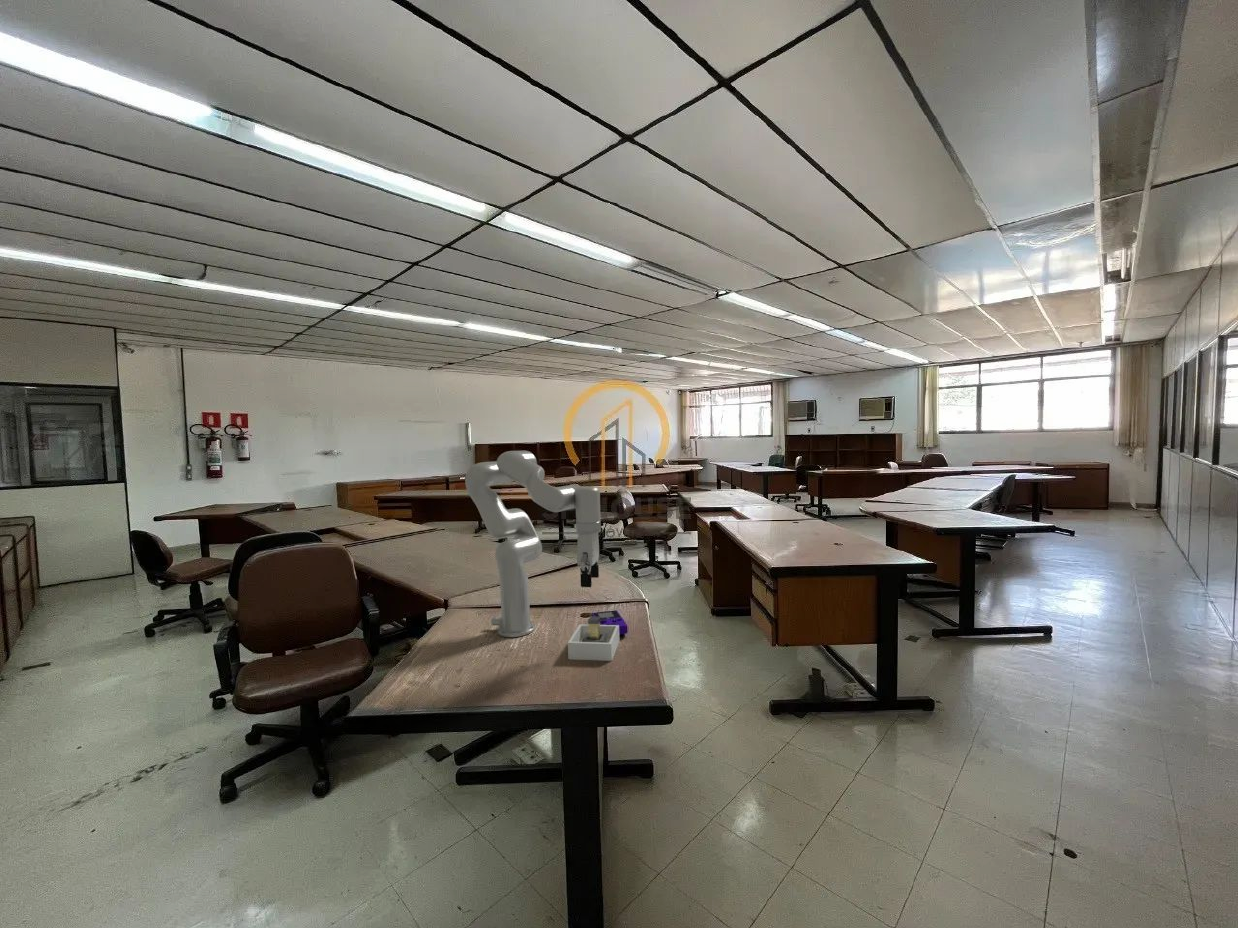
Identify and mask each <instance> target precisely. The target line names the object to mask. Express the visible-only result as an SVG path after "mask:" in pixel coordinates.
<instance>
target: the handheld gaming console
mask: <svg viewBox="0 0 1238 928" xmlns="http://www.w3.org/2000/svg"><path fill="white" fill-rule="evenodd" d="M591 616H596V617H600V625H619V635H626V634H628V623H626V621H625V620H624V618H623V617H622V615H621V614H620V613H619V612H618V610H615V609H614V610H608V611H598V612H596V611H595V612H591Z"/></svg>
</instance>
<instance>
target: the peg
mask: <svg viewBox="0 0 1238 928" xmlns="http://www.w3.org/2000/svg"><path fill="white" fill-rule="evenodd" d="M587 620H588V621H587V625H588V629H589V640H600V639H601V630H600V617H596V616H592V615H591V616H589V617H588V619H587Z"/></svg>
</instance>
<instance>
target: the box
mask: <svg viewBox="0 0 1238 928" xmlns="http://www.w3.org/2000/svg"><path fill="white" fill-rule="evenodd" d="M600 630H601V639H600V640H589V629H588V624H582V623H581V624H578V626H577V628H575V630H574V632H573V634H572V636H571V637H570V639H569V640H568V642H567V653H568V655H567V656H568V657H567V658H568V660H572V661H573V660H576V661H602V662H604V661H607V662H612V661H613V660H614V656H615V654H616V652H617V648H618V646H619V644H620V640H621V639H620V634H619V625H600Z"/></svg>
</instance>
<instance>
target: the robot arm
mask: <svg viewBox="0 0 1238 928" xmlns="http://www.w3.org/2000/svg"><path fill="white" fill-rule="evenodd" d="M464 479H465V480H464V481H465V488H466V490H467V493H468V495H469V497H470V498H471V500H472V502H473V503H474V504H475V506H476V509H477V510H478V512H479V514H480V517H481V519H482V522H483V523H484V525H485V527H486V530H487V532H488V534H489V535H490V537H491V538H493V539H495V540H501V539H506V538H509V537H513V538H510V539H506V540H505V541H503V542H501V543H499V544H498V546H497V547H496V549H495V552H494V554H495V555H494V557H495V561H496V565H497V569H498V577H499V589H500V591H499V592H500V607H501V609H500V611H501V616H500V617H498V616H497V617H491V625H492V626H498V628H497V634H498V635H499V636H500V637H504V638H517V637H523V636H527V635H529V634H531V633H532V632H534V631H535V629H536V624H535V622H533V621H531V612H530V609H531V607H530V606H531V605H530V592H529V587H530V586H529V577H528V574H527V571H526V570H525V568H524V565H525V564H528V563H531V562H533V561H535V560H538V558H540V557H541V555H542V553H543V545H542V541H541V539H540V537H539V535H538V533H537V531H536V529H535V527H534V525H533V523H532V521H531V518H530V516H529V515H528V514H527V513H526V512H525V511H524V510H522V509H521V508H517V507H516V508H514V507H513V508H509V509H507V507H505V504H504V503H503V501H502V499H501V497H500V495H498V493H497V492H495V491H494V490H493V489H492V488H491V487H493V486H498V485H505V484H509V483H513V482H515V483H518V484H519V485H520V486H522V487H524V488H525V489H526V490H527V494H528V495H529V497H530V499H531V500H532V501H533V502H534V503H536V504H537V505H538V506H540V507H542V508H544V509H545V510H547V511H549V512H552V513H559V512H563V511H568V510H573V509H575V518H576V519H575V527H576V528H575V529H576V530H575V531H576V532H575V533H577V545H576V547H577V548H576V549H577V550H576V551H577V552H576V553H577V555H576V561H577V562H576V563H577V566H578V567H580V568H579V571H580V573H579V574H580V587H581V588H592V585H593V584H592V579H593V578H594V579H595V578H599V576H600V574H599V573H600V572H599V571H600V568H599V558H600V543H599V542H600V540H599V533H601V531H602V530H601V529H602V524H601V521H602V520H601V519H602V518H601V493H600V492H601V491H600V489H599V488H598V487H596V486H581V485H580V486H579V485H575V484H569V485H563V486H556V487H555V486H552V485H550V484H549V483H547V482H546V481H544V479H545V470H544V468H543V467H542V466H541V465H539V464H538V461H537V458H536V456H535V455H534V454H533V453H532V452H531V451H529V450H525V449H524V450H509V451H505V452H503V453H501V454H500V455H499V456H498V457H497V459H496V460H495V461H484V462H483V461H481V462H478V463H475V464H473V465H471V466H470V467H469V468H467V470H466V473H465V478H464Z"/></svg>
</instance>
